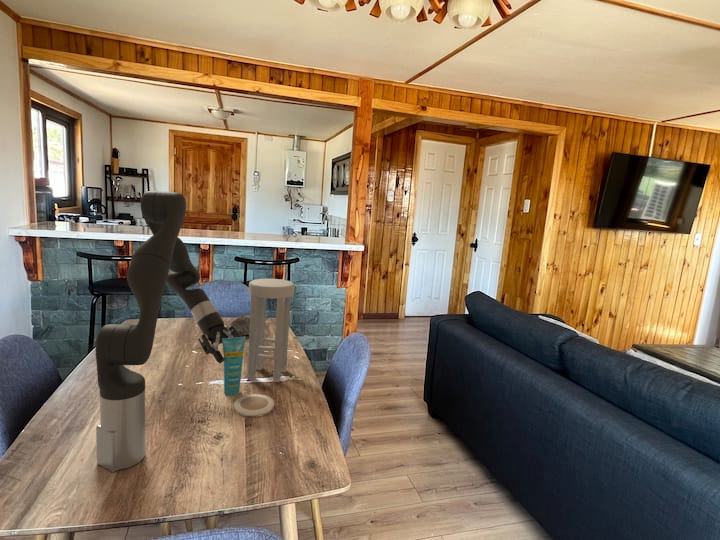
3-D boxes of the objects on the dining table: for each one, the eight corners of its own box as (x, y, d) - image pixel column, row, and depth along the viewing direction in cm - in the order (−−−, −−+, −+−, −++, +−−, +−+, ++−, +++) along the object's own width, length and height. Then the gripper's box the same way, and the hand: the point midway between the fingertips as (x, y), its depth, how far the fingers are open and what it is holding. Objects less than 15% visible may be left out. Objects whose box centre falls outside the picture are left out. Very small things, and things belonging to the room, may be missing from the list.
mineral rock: (224, 338, 186) (225, 317, 185) (225, 331, 196) (226, 310, 195) (254, 338, 190) (254, 317, 188) (253, 331, 200) (254, 311, 198)
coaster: (255, 420, 120) (256, 416, 120) (225, 408, 125) (225, 404, 125) (281, 404, 131) (281, 400, 131) (252, 394, 136) (252, 390, 136)
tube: (222, 397, 132) (224, 340, 129) (218, 391, 136) (220, 336, 133) (245, 393, 136) (247, 338, 133) (240, 387, 140) (243, 333, 137)
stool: (283, 386, 144) (288, 288, 138) (239, 381, 145) (243, 284, 139) (292, 368, 159) (298, 280, 154) (253, 364, 160) (257, 276, 154)
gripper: (196, 315, 130) (221, 358, 126) (229, 307, 142) (253, 346, 139) (184, 328, 133) (209, 370, 130) (217, 319, 145) (240, 357, 142)
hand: (231, 358), depth 134 cm, fingers open, 8 cm apart
